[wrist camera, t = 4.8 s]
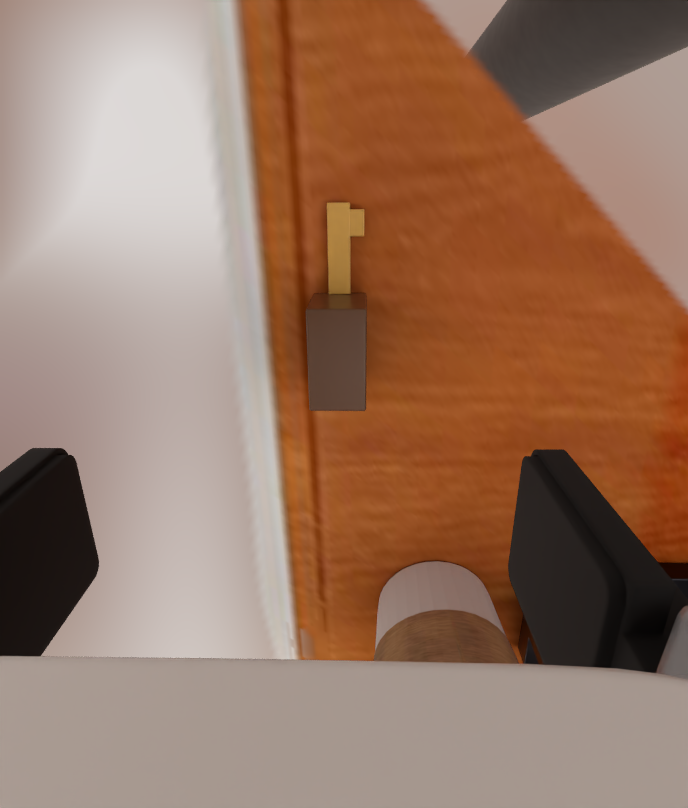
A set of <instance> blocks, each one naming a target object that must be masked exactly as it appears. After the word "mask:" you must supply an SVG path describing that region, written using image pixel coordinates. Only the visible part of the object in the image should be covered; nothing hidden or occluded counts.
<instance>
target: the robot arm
mask: <svg viewBox="0 0 688 808" xmlns="http://www.w3.org/2000/svg"><path fill="white" fill-rule="evenodd" d="M98 567H99V560H98V555H97V550H96V546H95V542H94V537H93V533H92V529H91V525H90V520H89V515H88V511H87V507H86V503H85V498H84V494H83V490H82V485H81V481H80V476H79V472H78V468H77V463H76V461H75V458H74V457H73V456H72V455H68V453H67V452H66V451H65V450H64V449H62V448H32V449H30V450H29V451H27V452H26V453H25V454H23V455H22V456H21V457H20V458H18V459H17V460H16V461H14V462H13V463H12V464H10V465H9V466H8V467H6V468H5V469H4V470H2V471H1V472H0V808H688V599H687V598H686V596H685V595H684V594H683V593H682V592H681V590H680V589H679V588H678V587H677V585H676V584H675V583H674V581H673V580H672V579H671V578H670V577H669V575H668V574H667V573H666V572H665V571H664V569H663V568H662V567H661V566H660V565H659V563H658V562H657V561H656V560H655V558H654V557H653V556H652V555H651V554H650V552H649V551H648V550H647V549H646V548H645V546H644V545H643V544H642V543H641V542H640V540H639V539H638V538H637V537H636V535H635V534H634V533H633V532H632V531H631V529H630V528H629V527H628V526H627V525H626V523H625V522H624V521H623V520H622V519H621V517H620V516H619V515H618V514H617V512H616V511H615V510H614V509H613V508H612V506H611V505H610V504H609V503H608V502H607V500H606V499H605V498H604V497H603V496H602V494H601V493H600V492H599V491H598V489H597V488H596V487H595V486H594V485H593V483H592V482H591V481H590V480H589V479H588V477H587V476H586V475H585V474H584V472H583V471H582V470H581V469H580V468H579V466H578V465H577V464H576V463H575V462H574V460H573V459H572V458H571V457H570V456H569V454H568V453H567V452H566V451H565V450H534V451H533V453H532V455H531V456H525V457H524V459H523V461H522V467H521V474H520V481H519V489H518V496H517V504H516V511H515V519H514V526H513V533H512V541H511V548H510V556H509V564H508V570H509V577H510V581H511V584H512V586H513V589H514V591H515V594H516V596H517V599H518V601H519V604H520V607H521V609H522V612H523V614H524V617H525V619H526V622H527V624H528V627H529V629H530V632H531V634H532V637H533V639H534V642H535V644H536V647H537V649H538V652H539V654H540V657H541V659H542V662H543V664H544V665H539V664H501V663H450V662H399V661H344V660H280V659H216V658H213V659H212V658H136V657H135V658H134V657H132V658H131V657H130V658H129V657H57V656H56V657H55V656H41V655H42V653H43V652H44V650H45V649H46V647H47V646H48V645H49V643H50V641H51V640H52V639H53V637H54V636H55V635H56V633H57V632H58V630H59V629H60V627H61V626H62V624H63V623H64V622H65V620H66V619H67V617H68V616H69V614H70V613H71V612H72V610H73V609H74V607H75V606H76V604H77V603H78V601H79V600H80V599H81V597H82V596H83V594H84V593H85V591H86V590H87V589H88V587H89V586H90V584H91V583H92V581H93V580H94V578H95V577H96V574H97V571H98Z"/></svg>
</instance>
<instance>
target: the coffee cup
mask: <svg viewBox="0 0 688 808" xmlns="http://www.w3.org/2000/svg"><path fill="white" fill-rule="evenodd" d="M374 661H399V662H450V663H501V664H519V663H518V660H517V658H516V656H515V654H514V651H513V649H512V647H511V645H510V643H509V641H508V639H507V637H506V635H505V632H504V630H503V628H502V625H501V623H500V620H499V618H498V615H497V613H496V610H495V608H494V606H493V603H492V601H491V598H490V596H489V594H488V592H487V590H486V588H485V586H484V584H483V583H482V582H481V580H480V579H479V578H478V577H477V576H476V575H474V574H473V573H472V572H470V571H469V570H468V569H465V568H463V567H461V566H459V565H456V564H452V563H449V562H440V561H432V562H423V563H418V564H414V565H412V566H409V567H406V568H404V569H403V570H401V571H399V572H398V573H396V574H395V575H394V576H393V577H392V578H391V579H389V581H388V582H387V583H386V585H385V586H384V587H383V590H382V592H381V594H380V598H379V604H378V615H377V630H376V646H375V655H374Z"/></svg>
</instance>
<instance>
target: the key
mask: <svg viewBox="0 0 688 808" xmlns="http://www.w3.org/2000/svg"><path fill="white" fill-rule="evenodd" d="M359 236H364V209H350V202H328V203H327V242H328V289H329V293H315V294H314V295H313V297H312V299H311V301H310V303H309V305H308V307H307V309H306V330H307V356H308V382H309V407H310V410H311V411H365V410H366V341H367V299H366V293H351V242H350V237H359Z"/></svg>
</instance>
